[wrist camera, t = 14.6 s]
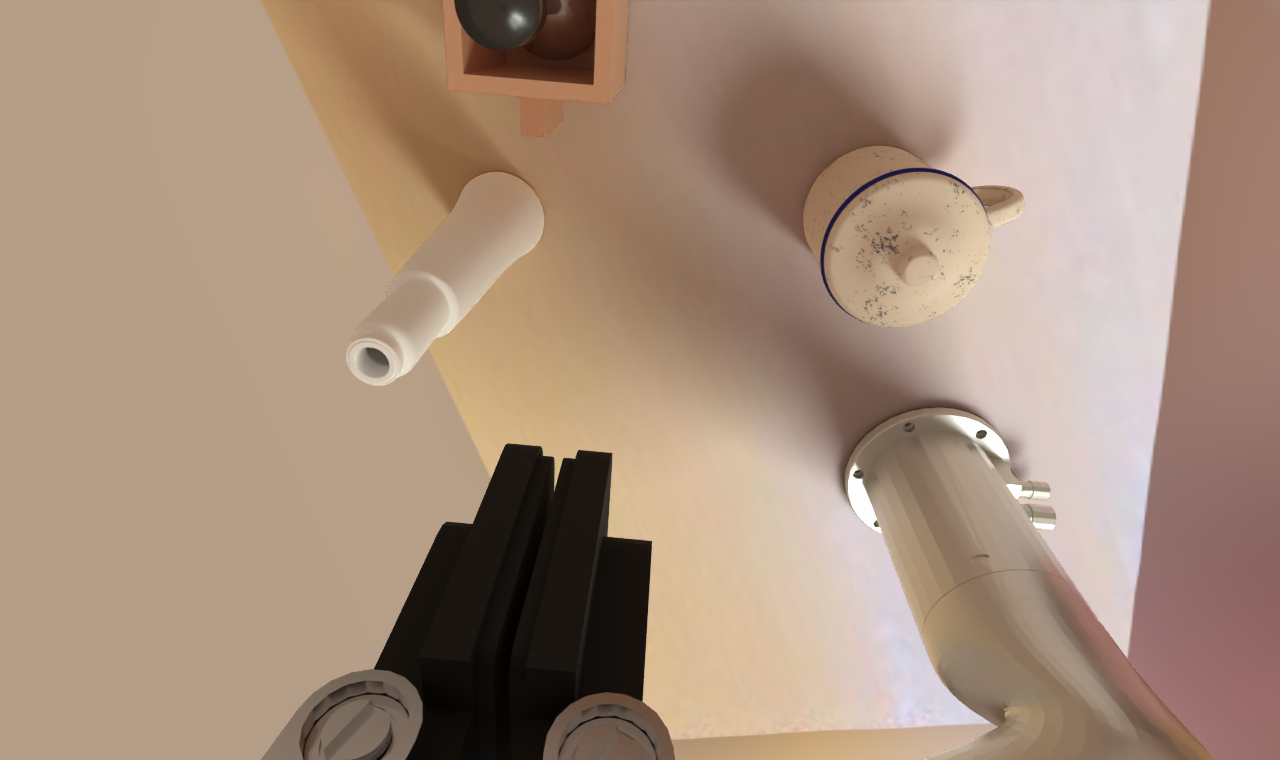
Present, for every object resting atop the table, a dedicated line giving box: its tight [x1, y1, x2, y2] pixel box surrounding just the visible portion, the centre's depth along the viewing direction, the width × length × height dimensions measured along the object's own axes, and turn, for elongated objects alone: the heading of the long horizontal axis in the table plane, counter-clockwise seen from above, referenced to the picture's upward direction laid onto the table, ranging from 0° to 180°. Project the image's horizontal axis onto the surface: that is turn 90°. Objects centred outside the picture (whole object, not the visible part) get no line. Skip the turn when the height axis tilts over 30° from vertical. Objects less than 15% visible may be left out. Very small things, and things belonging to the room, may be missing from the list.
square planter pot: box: [443, 0, 630, 137], centre depth 36 cm, size 8×10×10 cm
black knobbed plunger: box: [454, 0, 597, 61], centre depth 32 cm, size 6×6×14 cm
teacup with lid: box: [803, 146, 1024, 327], centre depth 39 cm, size 12×9×12 cm
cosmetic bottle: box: [346, 172, 544, 386], centre depth 37 cm, size 6×6×22 cm
